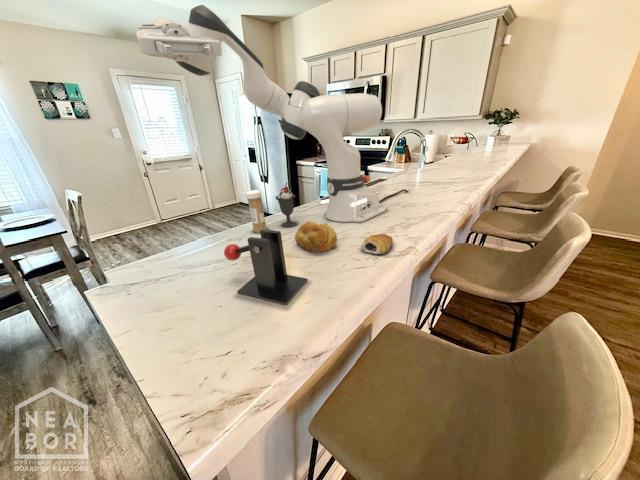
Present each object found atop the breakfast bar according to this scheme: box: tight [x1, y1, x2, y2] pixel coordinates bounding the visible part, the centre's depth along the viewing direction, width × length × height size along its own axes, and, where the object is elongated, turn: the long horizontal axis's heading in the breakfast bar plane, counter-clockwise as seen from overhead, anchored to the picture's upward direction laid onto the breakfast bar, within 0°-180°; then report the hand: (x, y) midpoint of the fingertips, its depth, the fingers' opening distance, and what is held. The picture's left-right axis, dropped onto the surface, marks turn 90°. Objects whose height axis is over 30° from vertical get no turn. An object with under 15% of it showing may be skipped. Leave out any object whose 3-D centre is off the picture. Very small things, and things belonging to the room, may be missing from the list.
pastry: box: [360, 233, 394, 255], centre depth 70 cm, size 9×7×4 cm
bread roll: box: [294, 221, 338, 254], centre depth 73 cm, size 13×10×8 cm
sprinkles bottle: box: [245, 189, 268, 234], centre depth 86 cm, size 5×5×13 cm
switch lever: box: [223, 235, 276, 261], centre depth 55 cm, size 13×4×4 cm, turn 65°
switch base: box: [236, 229, 309, 307], centre depth 54 cm, size 12×9×13 cm
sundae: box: [275, 181, 297, 228], centre depth 89 cm, size 7×7×15 cm
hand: (188, 50), depth 66 cm, fingers open, 8 cm apart
